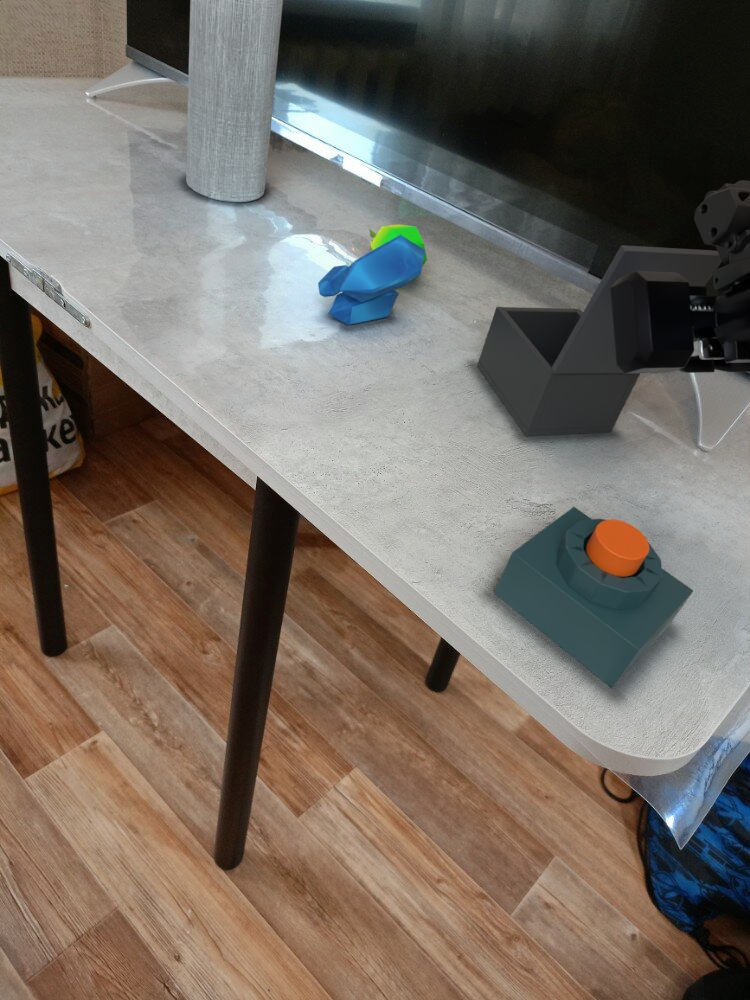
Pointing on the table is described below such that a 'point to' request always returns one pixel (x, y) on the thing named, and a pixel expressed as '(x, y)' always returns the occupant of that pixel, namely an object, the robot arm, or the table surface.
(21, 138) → the table surface
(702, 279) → the lid
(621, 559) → the button
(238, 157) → the grey fabric cylinder
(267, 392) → the table surface
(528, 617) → the control block
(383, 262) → the crystal
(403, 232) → the apple
